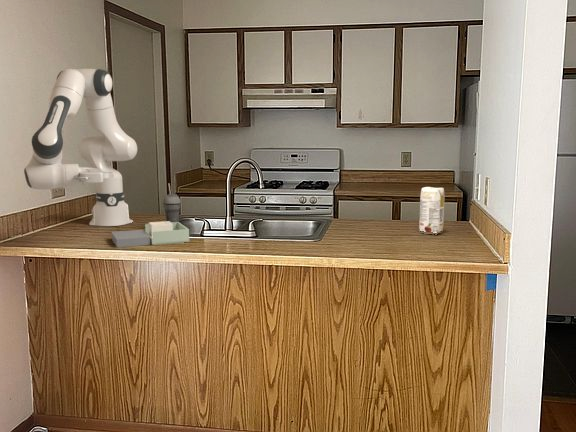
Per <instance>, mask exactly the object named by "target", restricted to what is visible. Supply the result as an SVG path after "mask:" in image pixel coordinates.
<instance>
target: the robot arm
mask: <svg viewBox="0 0 576 432" xmlns="http://www.w3.org/2000/svg"><path fill="white" fill-rule="evenodd" d="M113 81H114V80H113V78H112V75H111V73H109V72H108V70H105V69H101V68H97V69H96V68H84V67H83V68H76V69H74V68H66V69H63V70H61V71H60V72H59V73H58V75H57V77H56V81H55V83H54V85H53V87H52V91H51V93H50V96H49V105H48V107H49V108H48V112H47V114H46V117H45V120H44V121H43V124H42V125H41V126H40V127H39V128H38V129H37V131H36V132H35V133H33V136H32V137H31V146H32V151H33V152H32V153H33V154H32V157H31V159H30V161H28V164H27V165H26V166H24V169H23V170H24V171H23V172H24V173H23V175H24V178H25V181H26V184H27V187H29V188H31V189H33V190H55V189H64V190H65V189H67V190H69V189H80V187H81V185H82V186H83V185H85V184H95V185H96V193H95V200H96V202H95V204H94V206H93V208H92V209H91V214H92V218H91V220H90V222H89V226H97V227H114V226H115V227H116V226H124V225H128V224H132V222H133V223H134V221H133V220H134V219H131V218H130V215H129V205H128V203H126V202H125V192H124V187H123V185H124V184H123V175H122V173H120V171H118V170H117V169H115V168H113V167H112V166H111V163H110V162H126V161H131V160H133V159H134V158H135V157H136V156H137V153H138V144H137V142H136V140H135V139H134V138H132V137H131V136H129V135H128V134H127V133H126V132H125V131H124V130H123V129H122V128H121V125H120V124H119V123H118V120H117V116H116V113H115V108H114V103H113V98H112V95H111V92H112V90H113V84H114V83H113ZM83 98H84V104H85V108H86V113H87V118H88V123H89V125H90V127H91V128H93V129H94V130H95V131H97V132H98V133H100V134H101V135H90V136H86V137H82V138H81V140H80V141H79V143H78V146H77V147H78V148H77V149H78V153H79V156H80V157H81V158H82V159H83V160H84V161H86V162H87V163H88V164H89V165H90V167H86V166H85V167H84V166H79V164H78V163H64V164H62V161H63V147H64V146H63V145H64V139H63V135H62V131H63V129H64V125H65V123H66V120H67V118H71V117H72V118H73V117H75V116H76V115H77V113H78V111H79V110H80V107H81V105H82V103H83Z"/></svg>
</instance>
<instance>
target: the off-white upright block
mask: <svg viewBox="0 0 576 432" xmlns="http://www.w3.org/2000/svg"><path fill="white" fill-rule="evenodd" d="M148 224H149V235H150V236H151V237H152V238H153V232H154V231H168V230H173V224H172V223H171V222H170V221H166V220H165V221H151V222H148Z"/></svg>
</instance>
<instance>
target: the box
mask: <svg viewBox="0 0 576 432" xmlns="http://www.w3.org/2000/svg"><path fill="white" fill-rule="evenodd" d="M171 223H172V224H173V230H168V231H154V232H153V238H152V237H151V236H150V235H149V223H144V229H145V230H144V231H145V232H146V233H147V234H148V235H149V236H150V245H152V246H157V245H158V246H159V245H170V244H171V245H172V244H174V245H175V244H183V243H184V242H187V243H190V229H189V228H188V227H187V226H185V225H183V224H182V223H181V222H180V221H179V222H171Z"/></svg>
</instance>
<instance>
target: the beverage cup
mask: <svg viewBox="0 0 576 432" xmlns="http://www.w3.org/2000/svg"><path fill="white" fill-rule="evenodd" d="M168 193H169V194H168ZM168 193H167V195H166V196H165V197H164V199H163V204H162V205H163V207H164V214H165V221H170V222H179V223H180V208H181V204H182V203H181V199H180V197H179V195H177V194H176V193H171V185H170V183H168Z"/></svg>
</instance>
